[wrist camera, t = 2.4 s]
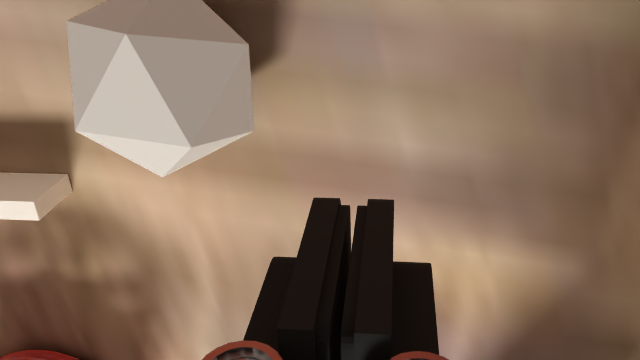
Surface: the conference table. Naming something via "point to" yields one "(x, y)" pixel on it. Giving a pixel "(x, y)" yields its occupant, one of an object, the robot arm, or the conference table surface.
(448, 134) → the conference table surface
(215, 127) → the die
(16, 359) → the plant pot
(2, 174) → the two-post plank stand
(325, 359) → the robot arm
